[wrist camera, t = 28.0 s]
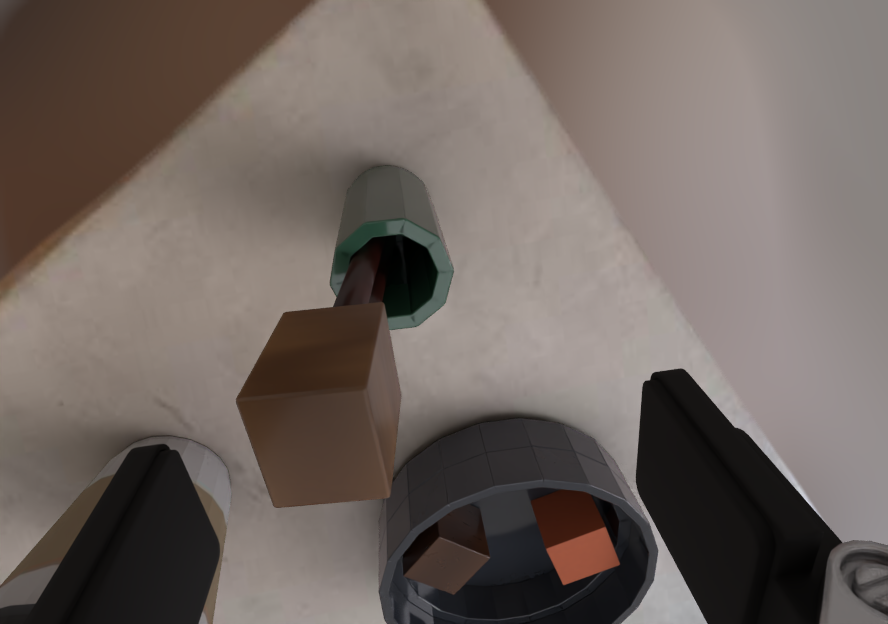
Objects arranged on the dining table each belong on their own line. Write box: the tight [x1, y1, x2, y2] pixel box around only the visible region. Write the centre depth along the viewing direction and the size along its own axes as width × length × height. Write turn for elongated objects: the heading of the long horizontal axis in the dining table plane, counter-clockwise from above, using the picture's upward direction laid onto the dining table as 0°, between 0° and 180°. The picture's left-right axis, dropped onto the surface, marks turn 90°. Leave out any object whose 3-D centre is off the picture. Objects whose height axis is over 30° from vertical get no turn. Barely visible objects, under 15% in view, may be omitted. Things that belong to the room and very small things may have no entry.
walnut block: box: [402, 504, 490, 595], centre depth 36 cm, size 4×4×4 cm
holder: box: [330, 165, 454, 330], centre depth 24 cm, size 4×5×9 cm
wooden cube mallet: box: [236, 235, 401, 508], centre depth 20 cm, size 3×3×18 cm
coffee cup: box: [0, 436, 232, 624], centre depth 28 cm, size 11×11×15 cm
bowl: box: [379, 418, 658, 624], centre depth 36 cm, size 17×17×6 cm
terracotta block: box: [531, 489, 620, 585], centre depth 37 cm, size 4×4×4 cm
